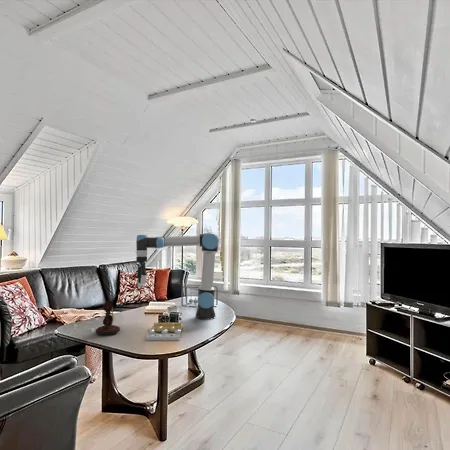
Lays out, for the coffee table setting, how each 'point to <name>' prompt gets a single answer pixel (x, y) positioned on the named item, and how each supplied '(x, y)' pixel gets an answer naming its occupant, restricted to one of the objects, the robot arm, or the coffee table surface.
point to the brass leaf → (167, 327)
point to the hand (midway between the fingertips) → (141, 285)
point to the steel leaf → (163, 335)
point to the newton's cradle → (195, 299)
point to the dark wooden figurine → (108, 321)
